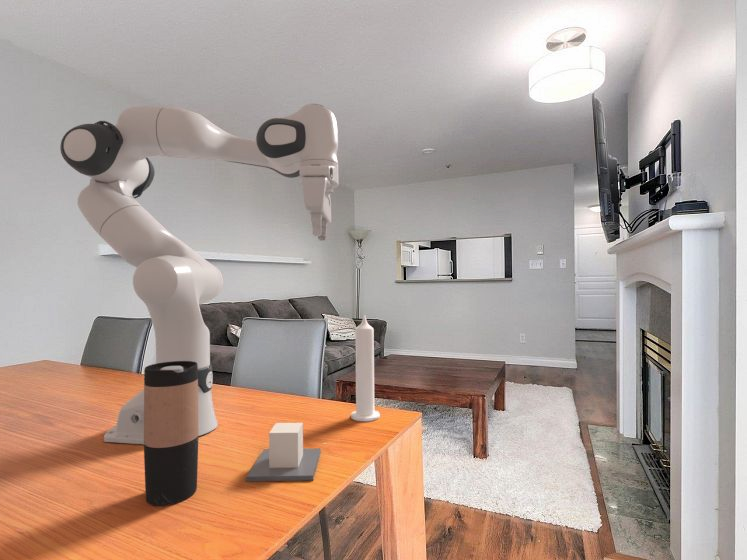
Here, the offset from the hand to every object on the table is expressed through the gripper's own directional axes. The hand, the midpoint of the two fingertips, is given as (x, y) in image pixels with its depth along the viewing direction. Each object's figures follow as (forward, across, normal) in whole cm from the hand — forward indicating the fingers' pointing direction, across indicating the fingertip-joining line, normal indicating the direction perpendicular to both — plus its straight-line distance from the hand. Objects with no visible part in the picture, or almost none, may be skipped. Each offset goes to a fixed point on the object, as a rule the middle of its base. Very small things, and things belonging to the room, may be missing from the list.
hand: (319, 238), depth 91 cm
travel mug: (+43, +28, -20) cm, 55 cm away
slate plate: (+43, +19, -4) cm, 47 cm away
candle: (+43, -7, +10) cm, 45 cm away
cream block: (+42, +19, -4) cm, 47 cm away
